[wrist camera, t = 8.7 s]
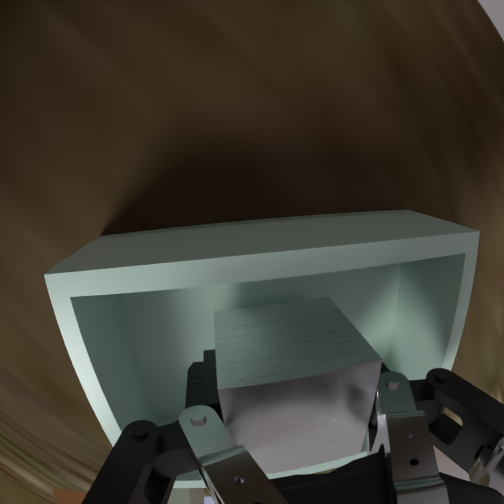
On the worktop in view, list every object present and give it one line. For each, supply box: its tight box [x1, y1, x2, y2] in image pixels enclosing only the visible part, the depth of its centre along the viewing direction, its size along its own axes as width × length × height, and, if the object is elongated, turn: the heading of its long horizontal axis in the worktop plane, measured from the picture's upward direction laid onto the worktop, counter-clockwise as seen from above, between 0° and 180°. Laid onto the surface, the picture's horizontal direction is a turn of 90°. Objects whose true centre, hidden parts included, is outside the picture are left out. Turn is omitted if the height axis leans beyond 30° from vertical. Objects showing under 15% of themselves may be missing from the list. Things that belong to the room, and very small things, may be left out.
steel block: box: [214, 297, 382, 474], centre depth 11 cm, size 5×5×5 cm
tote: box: [44, 210, 480, 488], centre depth 13 cm, size 16×12×6 cm
